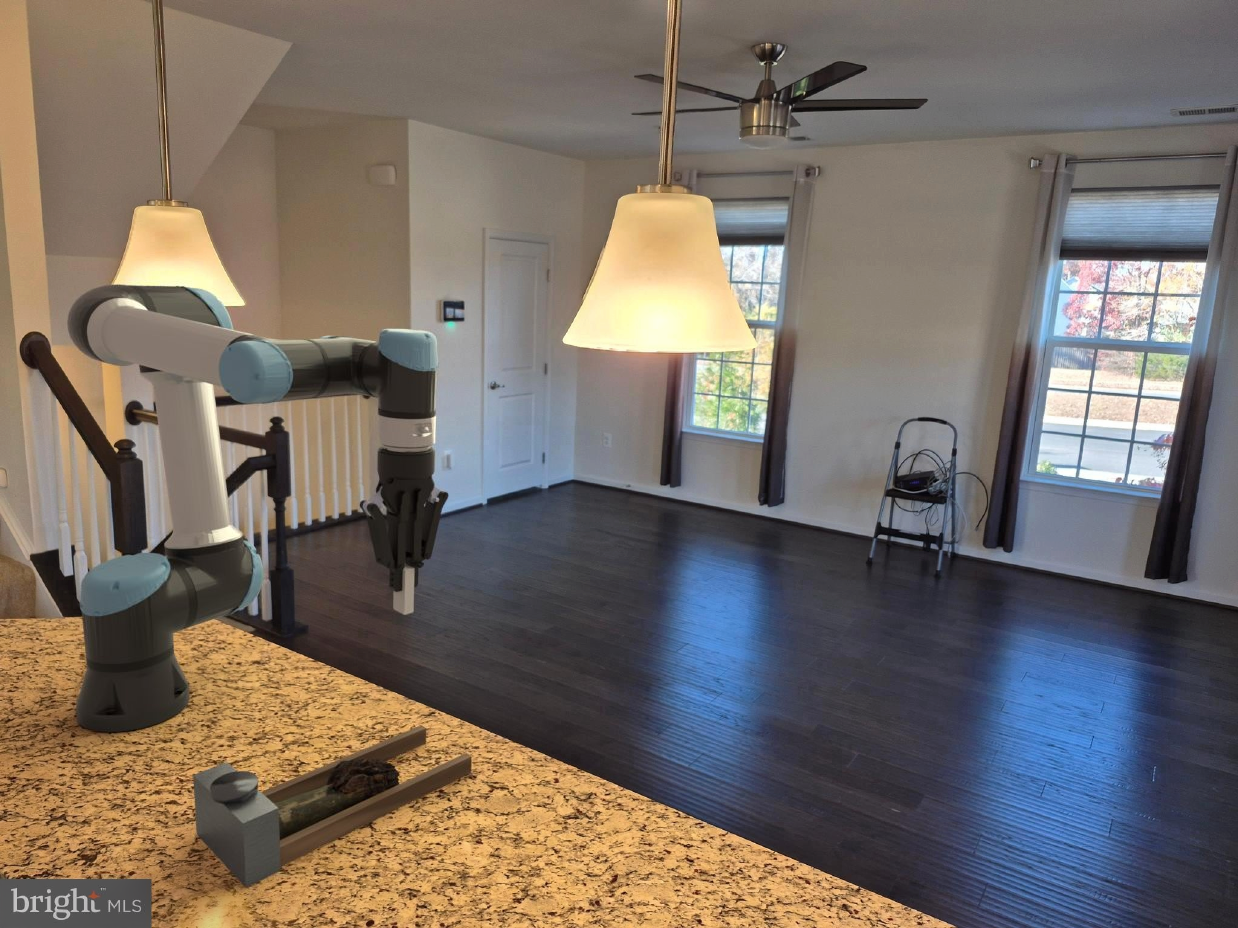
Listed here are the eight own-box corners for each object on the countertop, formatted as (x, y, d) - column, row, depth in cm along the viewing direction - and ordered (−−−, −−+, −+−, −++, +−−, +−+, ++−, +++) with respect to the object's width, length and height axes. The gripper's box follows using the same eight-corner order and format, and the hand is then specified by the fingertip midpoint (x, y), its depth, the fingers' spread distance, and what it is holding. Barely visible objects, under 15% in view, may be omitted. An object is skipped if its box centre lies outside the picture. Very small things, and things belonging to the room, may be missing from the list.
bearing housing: (192, 836, 100) (188, 768, 98) (234, 818, 104) (230, 752, 102) (241, 889, 92) (238, 817, 90) (284, 868, 95) (282, 797, 94)
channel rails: (232, 822, 103) (231, 804, 102) (421, 740, 124) (421, 724, 123) (278, 867, 95) (277, 848, 95) (471, 772, 116) (471, 756, 116)
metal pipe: (266, 857, 98) (264, 814, 96) (248, 828, 103) (245, 787, 101) (405, 802, 109) (404, 763, 108) (382, 779, 114) (382, 741, 113)
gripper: (380, 456, 104) (377, 631, 109) (462, 446, 114) (457, 607, 119) (347, 445, 109) (346, 613, 114) (430, 437, 119) (425, 592, 124)
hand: (403, 610), depth 116 cm, fingers closed
